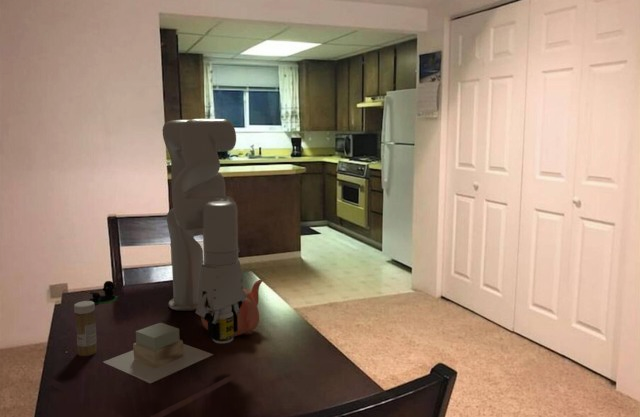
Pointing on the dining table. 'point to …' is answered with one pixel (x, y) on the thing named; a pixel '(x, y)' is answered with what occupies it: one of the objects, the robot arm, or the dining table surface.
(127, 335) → the dining table surface
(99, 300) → the toy figurine
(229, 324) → the supplement bottle
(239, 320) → the teapot
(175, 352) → the birch block
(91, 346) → the sprinkles bottle
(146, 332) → the sage block
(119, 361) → the base plate
